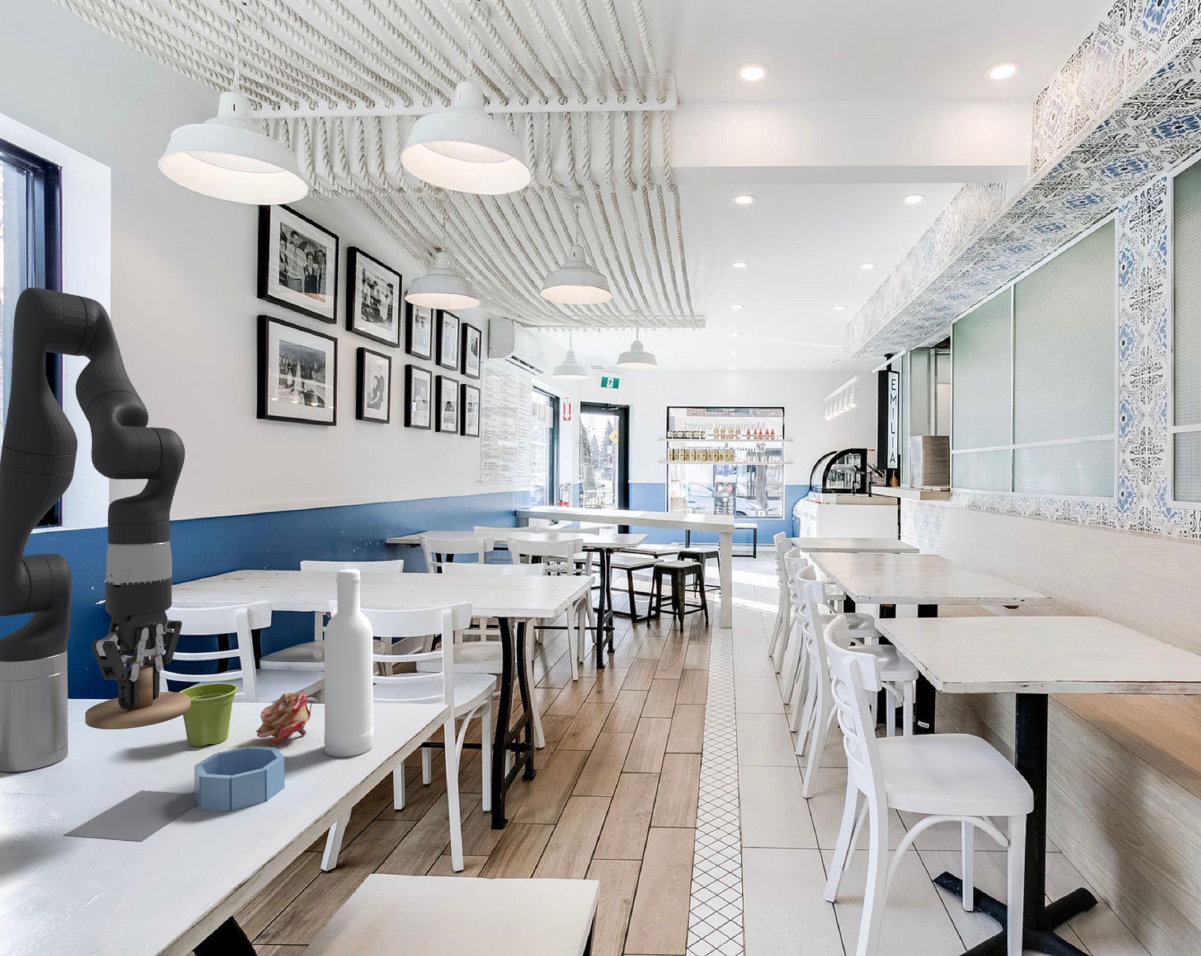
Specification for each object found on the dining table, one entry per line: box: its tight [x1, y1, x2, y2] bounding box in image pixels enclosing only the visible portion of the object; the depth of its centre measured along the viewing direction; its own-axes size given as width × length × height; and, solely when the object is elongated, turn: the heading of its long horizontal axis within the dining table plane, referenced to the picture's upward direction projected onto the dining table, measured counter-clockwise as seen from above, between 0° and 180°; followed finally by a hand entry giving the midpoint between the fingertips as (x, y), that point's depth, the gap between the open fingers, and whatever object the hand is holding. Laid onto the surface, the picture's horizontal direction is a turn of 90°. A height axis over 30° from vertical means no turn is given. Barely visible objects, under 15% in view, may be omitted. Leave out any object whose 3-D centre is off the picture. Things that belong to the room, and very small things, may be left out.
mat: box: [63, 790, 198, 843], centre depth 98 cm, size 11×13×1 cm
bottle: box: [323, 568, 375, 758], centre depth 123 cm, size 8×8×30 cm
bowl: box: [193, 745, 286, 812], centre depth 105 cm, size 11×11×5 cm
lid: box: [84, 665, 191, 730], centre depth 98 cm, size 12×12×6 cm
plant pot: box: [178, 682, 239, 748], centre depth 126 cm, size 9×9×9 cm
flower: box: [255, 689, 313, 746], centre depth 127 cm, size 10×9×8 cm
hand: (139, 703), depth 98 cm, fingers closed on lid, 3 cm apart
